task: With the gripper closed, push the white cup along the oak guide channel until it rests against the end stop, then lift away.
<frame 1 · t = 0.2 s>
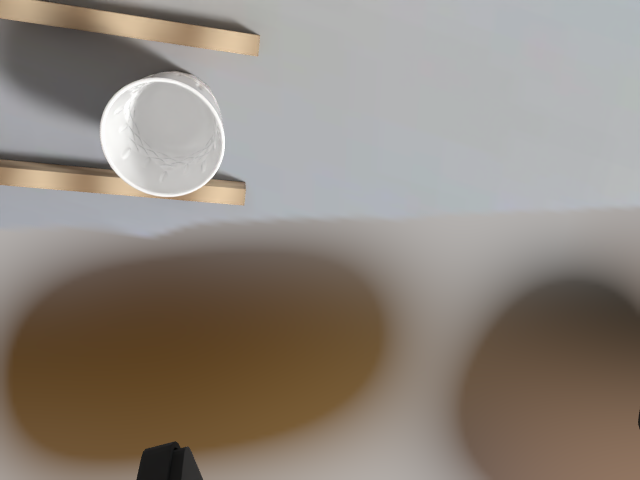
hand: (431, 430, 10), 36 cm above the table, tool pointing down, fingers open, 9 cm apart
guide channel: (76, 100, 39), on the table
white cup: (178, 112, 41), on the table
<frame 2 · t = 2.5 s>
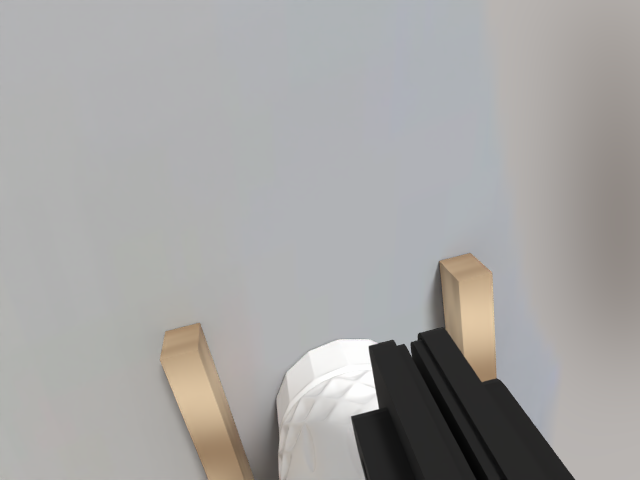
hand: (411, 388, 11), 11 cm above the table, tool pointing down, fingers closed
white cup: (342, 391, 24), on the table
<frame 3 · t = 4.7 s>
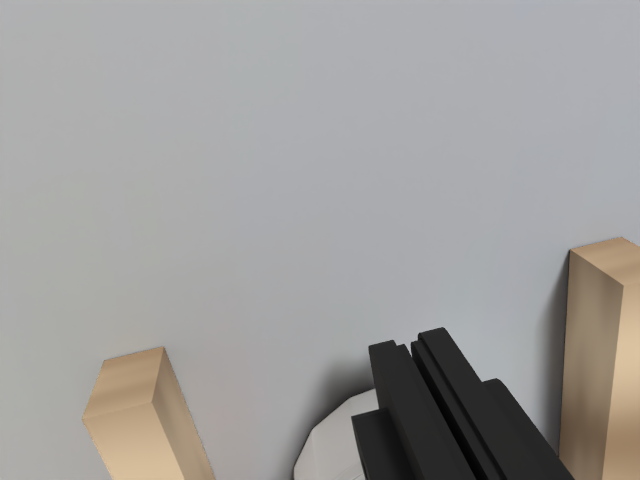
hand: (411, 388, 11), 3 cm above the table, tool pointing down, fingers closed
white cup: (397, 455, 15), on the table, touching gripper
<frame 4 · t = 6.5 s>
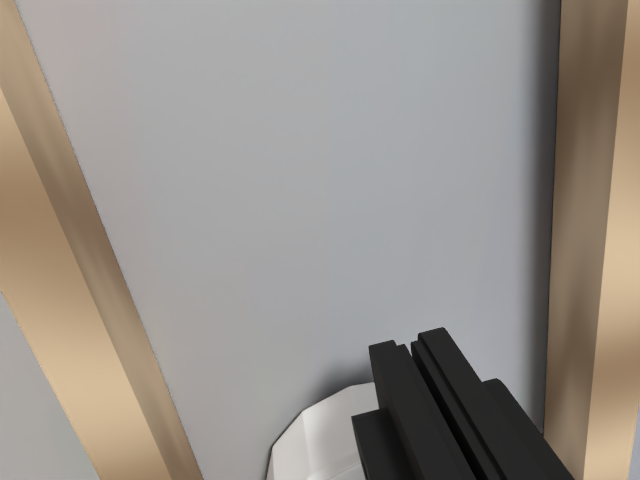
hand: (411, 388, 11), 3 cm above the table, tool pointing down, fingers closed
guide channel: (374, 402, 14), on the table
white cup: (371, 453, 15), on the table, touching gripper
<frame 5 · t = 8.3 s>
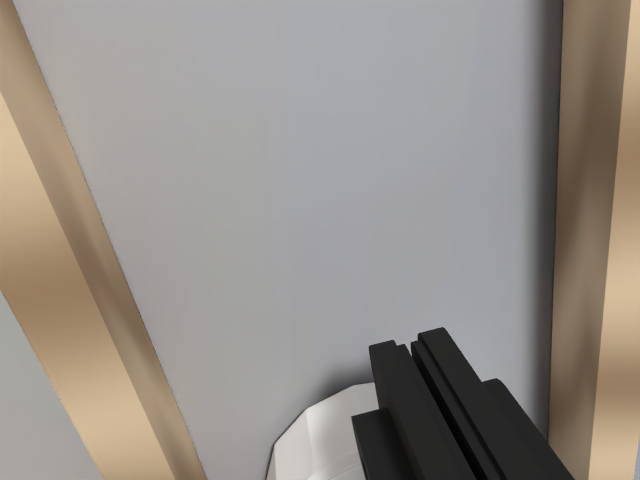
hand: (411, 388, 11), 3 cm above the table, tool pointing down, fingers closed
guide channel: (348, 224, 12), on the table
white cup: (372, 453, 15), on the table, touching gripper
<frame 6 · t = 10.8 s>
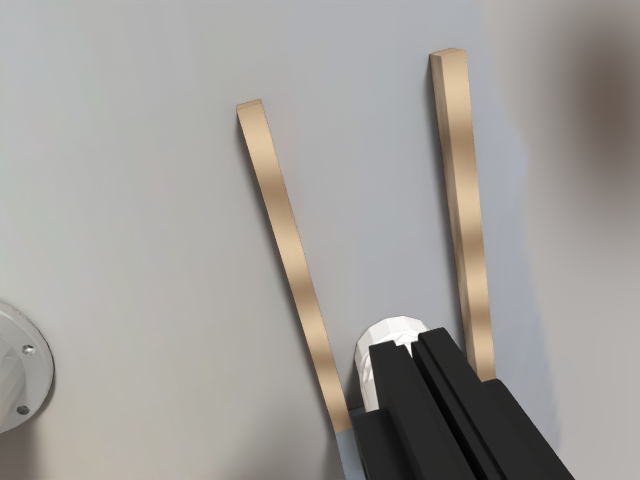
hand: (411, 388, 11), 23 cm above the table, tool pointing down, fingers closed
guide channel: (383, 266, 36), on the table
end stop: (411, 405, 43), on the table
white cup: (393, 348, 40), on the table
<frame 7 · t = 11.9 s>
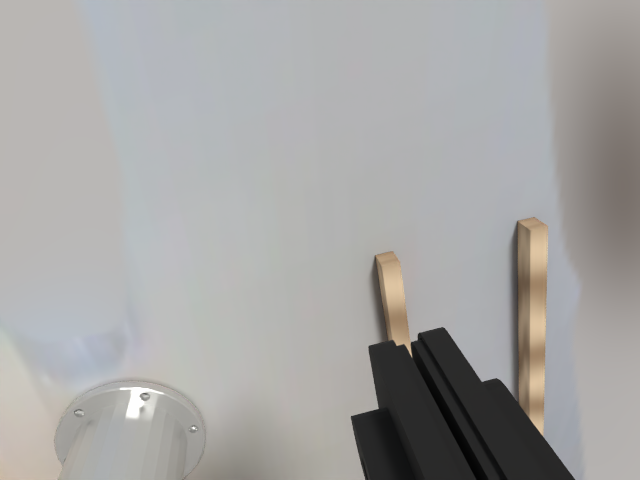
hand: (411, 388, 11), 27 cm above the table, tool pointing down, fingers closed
guide channel: (464, 365, 47), on the table
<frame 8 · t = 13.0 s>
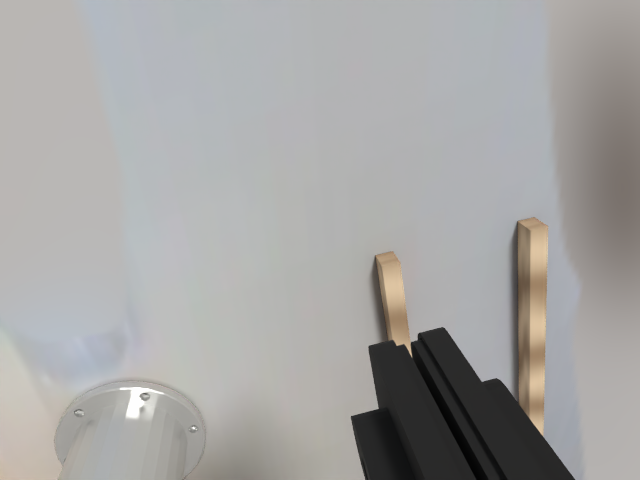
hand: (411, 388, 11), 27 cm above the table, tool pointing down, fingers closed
guide channel: (464, 365, 47), on the table
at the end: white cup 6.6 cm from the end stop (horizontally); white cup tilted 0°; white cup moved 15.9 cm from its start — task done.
